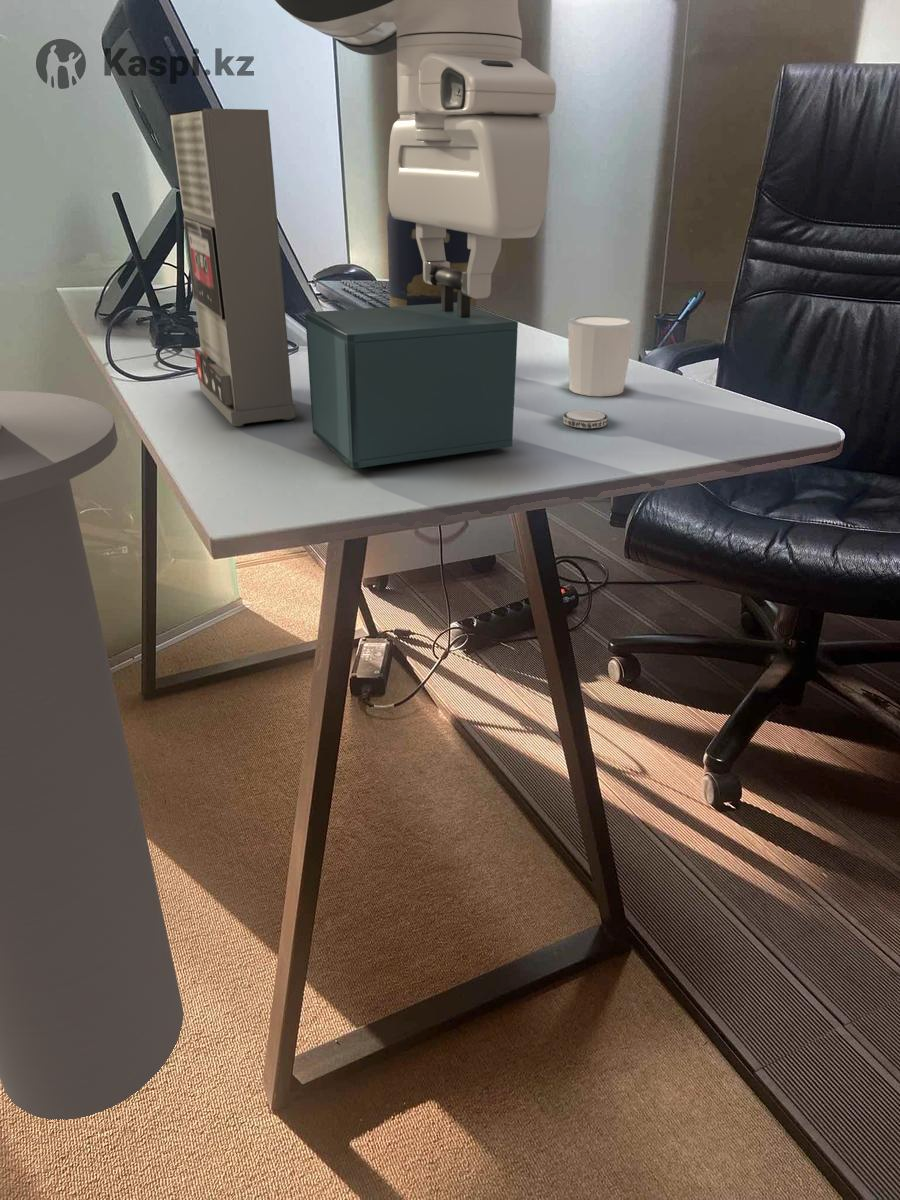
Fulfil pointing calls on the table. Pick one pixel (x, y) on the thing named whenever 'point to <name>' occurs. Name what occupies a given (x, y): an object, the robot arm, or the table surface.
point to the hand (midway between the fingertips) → (455, 290)
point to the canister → (419, 264)
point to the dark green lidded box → (412, 379)
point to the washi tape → (585, 419)
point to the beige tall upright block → (234, 261)
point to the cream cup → (599, 354)
